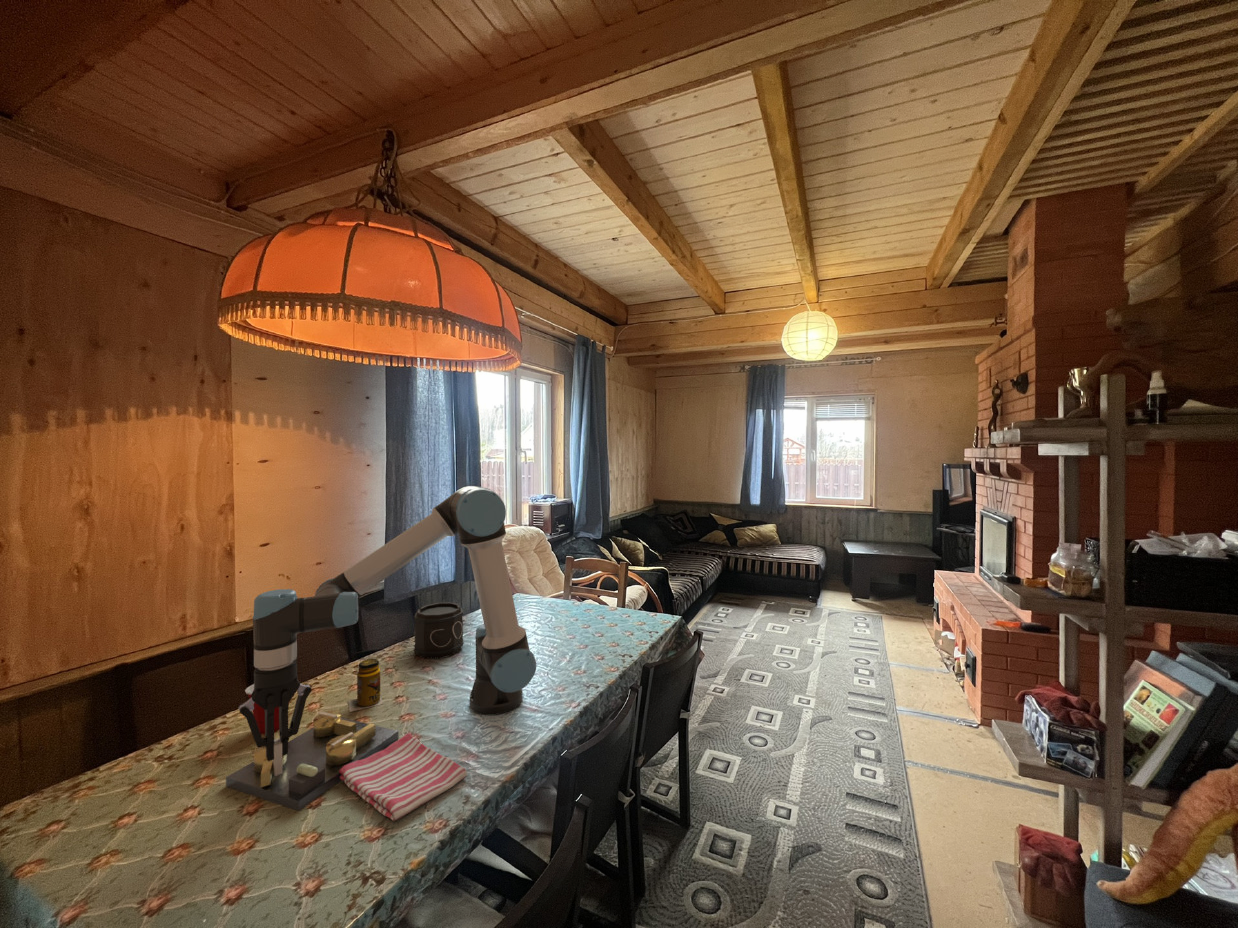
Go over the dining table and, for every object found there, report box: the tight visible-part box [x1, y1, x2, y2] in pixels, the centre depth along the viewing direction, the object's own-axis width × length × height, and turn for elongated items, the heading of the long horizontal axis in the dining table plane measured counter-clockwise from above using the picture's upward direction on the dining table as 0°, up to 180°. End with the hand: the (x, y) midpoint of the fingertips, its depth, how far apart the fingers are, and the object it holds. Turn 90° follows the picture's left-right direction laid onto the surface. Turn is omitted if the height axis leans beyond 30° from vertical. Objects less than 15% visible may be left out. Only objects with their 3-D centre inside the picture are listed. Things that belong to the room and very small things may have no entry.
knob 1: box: [253, 746, 287, 787], centre depth 103 cm, size 12×6×4 cm, turn 31°
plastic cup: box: [244, 683, 279, 735], centre depth 124 cm, size 11×11×12 cm
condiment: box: [347, 658, 384, 713], centre depth 137 cm, size 7×8×12 cm
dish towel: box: [339, 732, 468, 821], centre depth 103 cm, size 17×23×4 cm
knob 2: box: [312, 709, 356, 737], centre depth 118 cm, size 12×6×4 cm, turn 71°
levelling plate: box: [225, 717, 399, 812], centre depth 110 cm, size 22×26×2 cm
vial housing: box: [289, 764, 325, 795], centre depth 99 cm, size 5×5×4 cm
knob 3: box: [326, 723, 376, 765], centre depth 110 cm, size 12×6×4 cm, turn 161°
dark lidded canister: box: [413, 602, 465, 660], centre depth 175 cm, size 18×18×16 cm
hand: (277, 771), depth 101 cm, fingers closed
